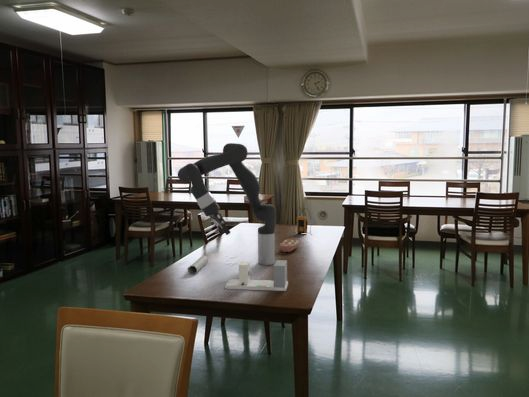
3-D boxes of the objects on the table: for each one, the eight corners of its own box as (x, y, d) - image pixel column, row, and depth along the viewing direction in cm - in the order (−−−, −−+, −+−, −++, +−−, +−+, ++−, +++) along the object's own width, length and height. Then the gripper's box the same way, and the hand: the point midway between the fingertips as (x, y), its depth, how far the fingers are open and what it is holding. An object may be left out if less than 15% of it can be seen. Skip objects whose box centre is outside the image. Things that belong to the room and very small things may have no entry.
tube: (199, 255, 252) (185, 267, 227) (207, 253, 251) (195, 264, 226) (202, 264, 252) (189, 276, 227) (210, 261, 251) (198, 273, 227)
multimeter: (315, 233, 335) (315, 206, 332) (309, 235, 326) (309, 208, 324) (298, 231, 343) (298, 205, 340) (292, 233, 334) (292, 207, 332)
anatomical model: (286, 245, 294) (286, 238, 293) (301, 246, 291) (301, 238, 290) (278, 253, 272) (278, 245, 271) (294, 254, 269) (294, 246, 268)
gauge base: (230, 282, 214) (229, 258, 213) (288, 284, 210) (288, 260, 208) (225, 288, 204) (224, 264, 203) (285, 290, 200) (285, 266, 199)
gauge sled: (241, 280, 211) (241, 261, 210) (252, 280, 210) (252, 261, 209) (238, 285, 203) (237, 266, 202) (249, 285, 202) (248, 266, 201)
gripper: (217, 199, 196) (237, 229, 198) (211, 199, 209) (229, 228, 212) (203, 208, 194) (223, 239, 196) (198, 208, 207) (216, 237, 210)
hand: (226, 233), depth 204 cm, fingers open, 8 cm apart
